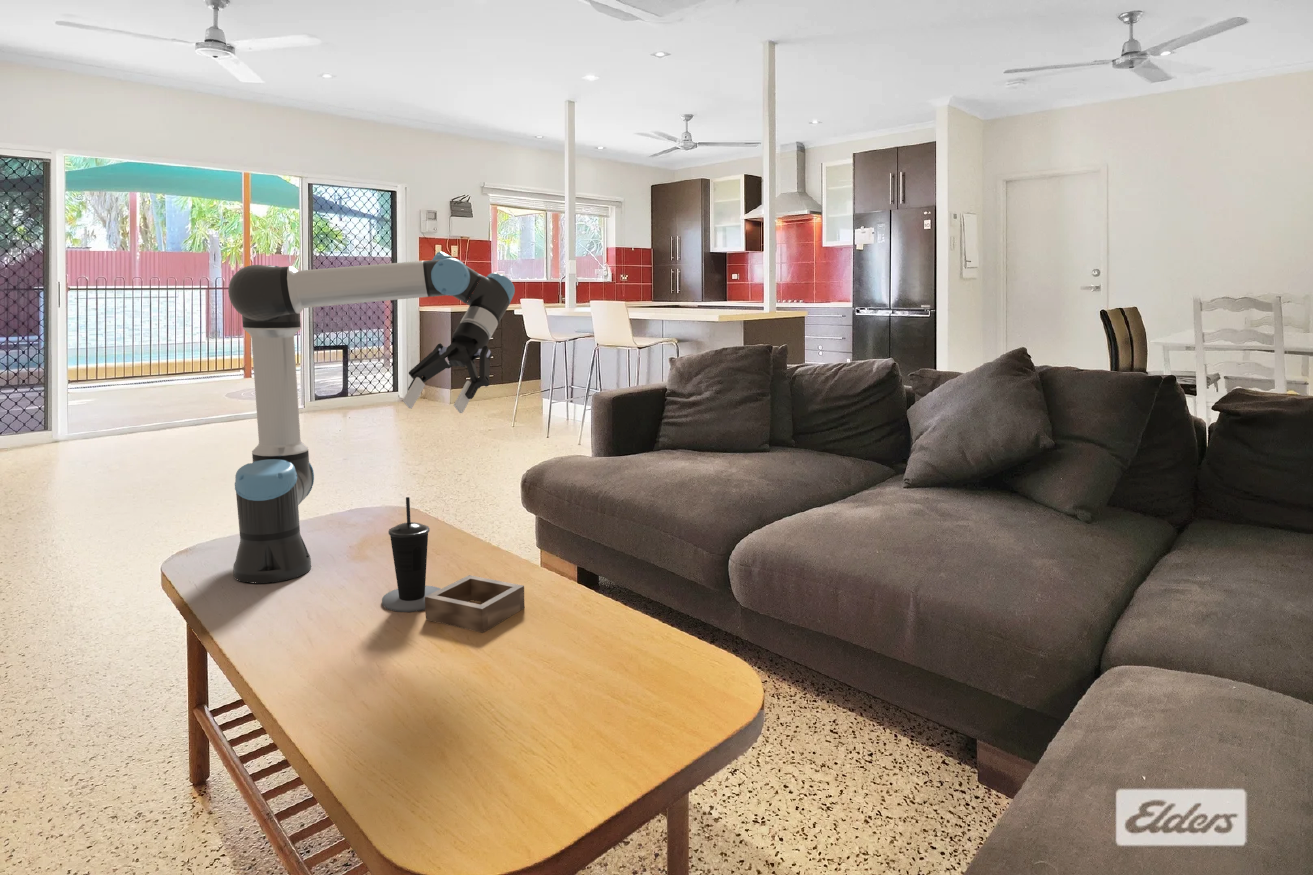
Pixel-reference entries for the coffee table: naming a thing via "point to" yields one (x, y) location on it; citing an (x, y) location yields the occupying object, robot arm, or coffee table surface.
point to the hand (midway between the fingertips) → (432, 407)
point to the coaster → (396, 604)
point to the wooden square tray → (459, 612)
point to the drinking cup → (410, 557)
